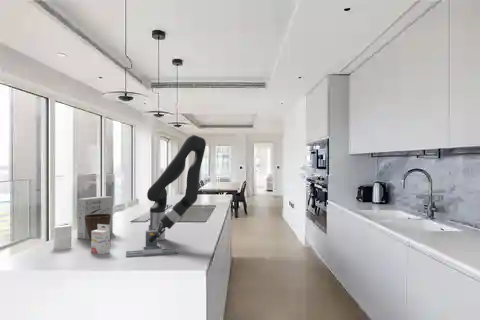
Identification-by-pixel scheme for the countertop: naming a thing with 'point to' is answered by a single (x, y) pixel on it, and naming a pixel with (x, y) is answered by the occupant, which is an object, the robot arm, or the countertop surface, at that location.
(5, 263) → the countertop surface
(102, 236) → the ink cartridge box
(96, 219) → the plant pot
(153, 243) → the module
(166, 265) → the countertop surface
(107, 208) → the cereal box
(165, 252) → the rail
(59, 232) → the white box
